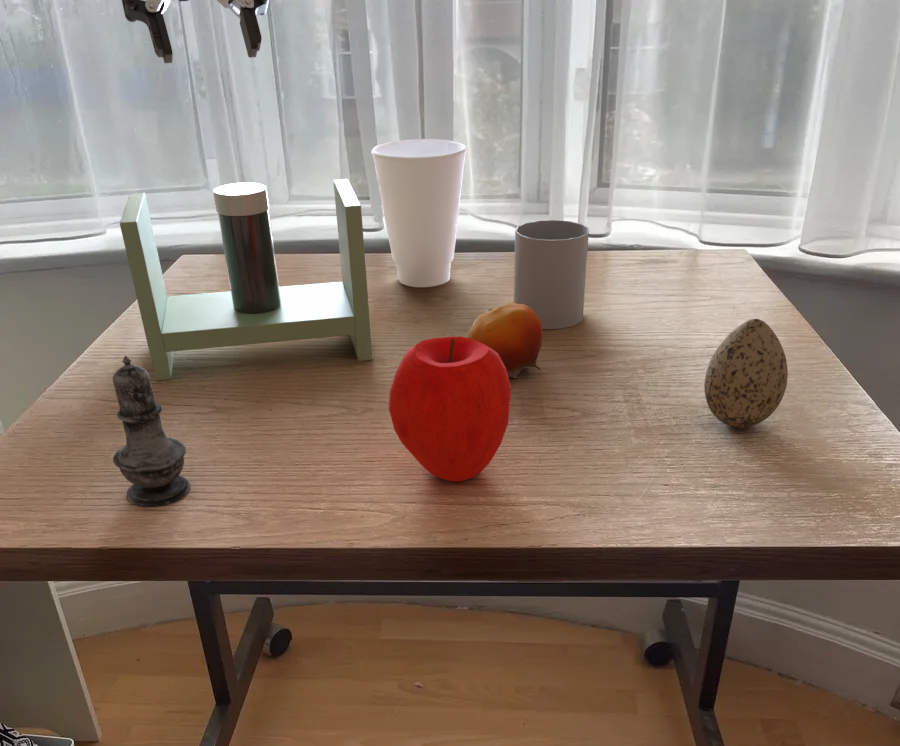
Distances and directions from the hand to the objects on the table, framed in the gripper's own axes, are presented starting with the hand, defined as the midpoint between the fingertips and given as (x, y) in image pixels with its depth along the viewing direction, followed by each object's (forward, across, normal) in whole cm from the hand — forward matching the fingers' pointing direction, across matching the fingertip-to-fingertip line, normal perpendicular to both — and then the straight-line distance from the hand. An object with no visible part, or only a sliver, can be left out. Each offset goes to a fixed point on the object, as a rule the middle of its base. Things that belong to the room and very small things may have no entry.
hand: (211, 55), depth 90 cm
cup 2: (+30, -33, -6) cm, 45 cm away
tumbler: (+23, 0, -8) cm, 24 cm away
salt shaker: (+43, +17, +11) cm, 47 cm away
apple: (+47, -7, +18) cm, 51 cm away
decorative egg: (+49, -35, +21) cm, 64 cm away
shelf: (+27, 0, -11) cm, 29 cm away
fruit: (+37, -21, +3) cm, 43 cm away
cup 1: (+18, -26, -23) cm, 39 cm away
